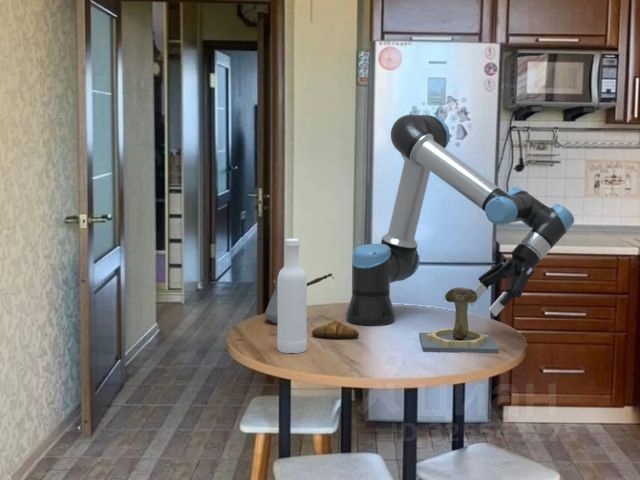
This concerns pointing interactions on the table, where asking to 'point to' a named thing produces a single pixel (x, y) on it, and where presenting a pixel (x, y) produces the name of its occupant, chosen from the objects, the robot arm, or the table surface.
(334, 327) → the croissant
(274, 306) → the coffee pot
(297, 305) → the bottle
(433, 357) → the table surface
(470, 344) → the gear board
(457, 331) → the mushroom
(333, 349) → the table surface
